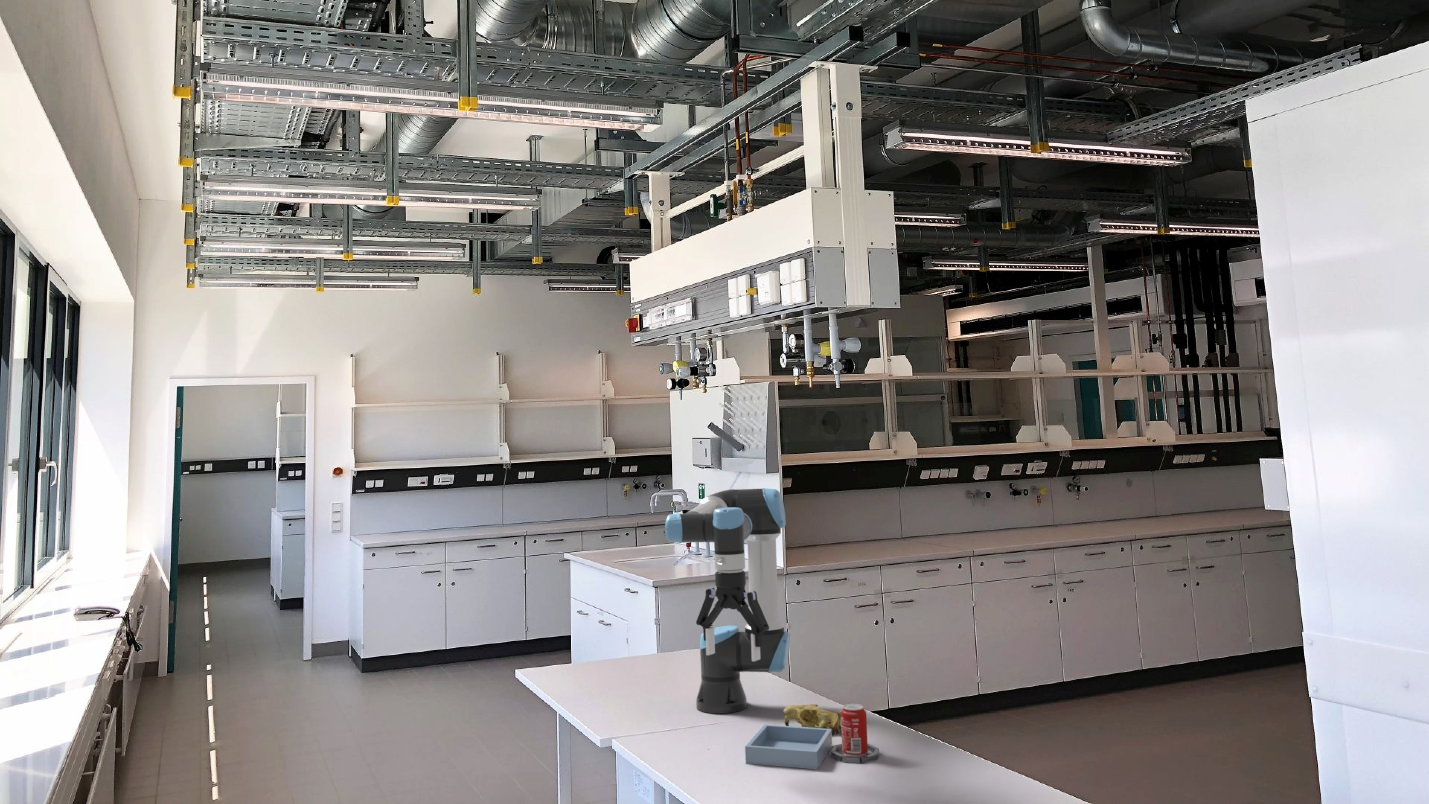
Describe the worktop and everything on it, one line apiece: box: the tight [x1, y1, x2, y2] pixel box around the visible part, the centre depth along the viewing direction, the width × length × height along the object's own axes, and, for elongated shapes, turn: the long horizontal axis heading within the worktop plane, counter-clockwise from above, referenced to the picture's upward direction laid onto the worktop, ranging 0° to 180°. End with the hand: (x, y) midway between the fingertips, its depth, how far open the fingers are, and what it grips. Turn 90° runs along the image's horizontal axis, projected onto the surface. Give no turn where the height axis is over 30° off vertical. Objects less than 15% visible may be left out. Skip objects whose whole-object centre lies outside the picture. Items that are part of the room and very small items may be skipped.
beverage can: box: [840, 703, 869, 757], centre depth 232 cm, size 6×6×12 cm
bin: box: [744, 724, 833, 770], centre depth 234 cm, size 18×18×4 cm
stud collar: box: [830, 743, 880, 764], centre depth 232 cm, size 12×12×1 cm
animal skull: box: [783, 703, 842, 735], centre depth 253 cm, size 10×16×7 cm
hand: (733, 657), depth 229 cm, fingers open, 13 cm apart
